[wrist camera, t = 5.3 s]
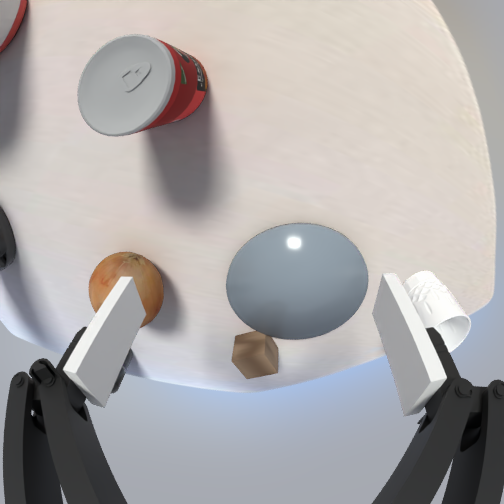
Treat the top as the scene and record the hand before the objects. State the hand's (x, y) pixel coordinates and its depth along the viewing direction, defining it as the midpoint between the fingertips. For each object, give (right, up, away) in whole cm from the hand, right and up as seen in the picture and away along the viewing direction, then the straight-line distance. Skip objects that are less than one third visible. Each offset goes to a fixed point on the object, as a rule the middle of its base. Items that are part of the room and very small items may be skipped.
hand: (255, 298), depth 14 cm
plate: (+6, -2, +21) cm, 22 cm away
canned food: (-8, +19, +10) cm, 23 cm away
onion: (-15, 0, +22) cm, 27 cm away
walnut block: (+1, -11, +27) cm, 30 cm away
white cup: (+24, -3, +20) cm, 32 cm away
